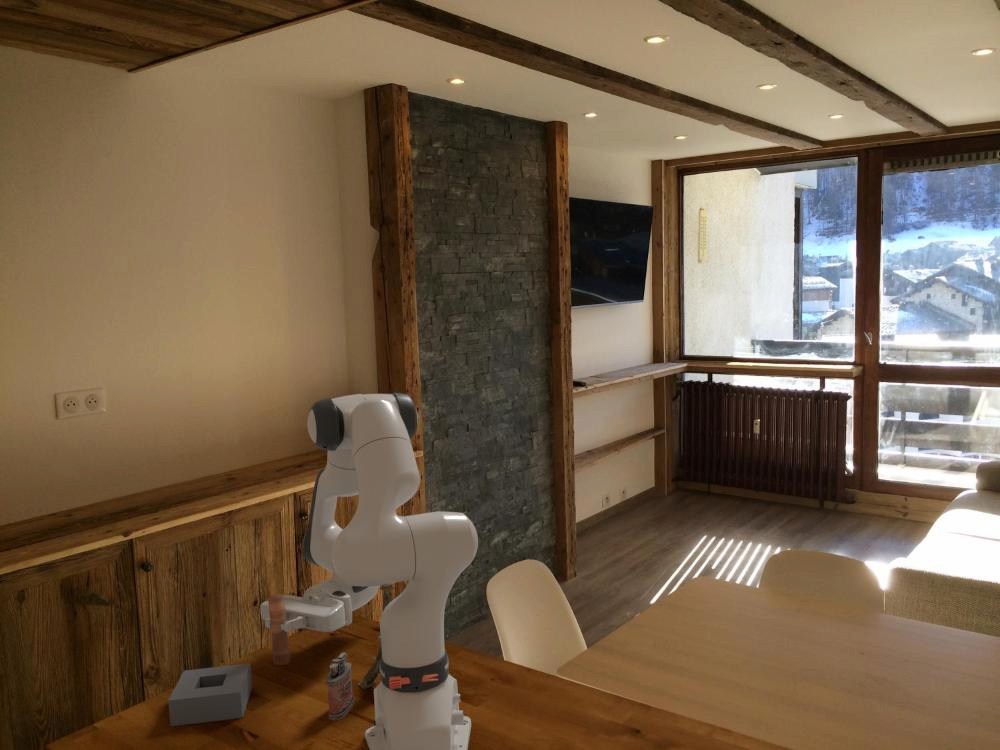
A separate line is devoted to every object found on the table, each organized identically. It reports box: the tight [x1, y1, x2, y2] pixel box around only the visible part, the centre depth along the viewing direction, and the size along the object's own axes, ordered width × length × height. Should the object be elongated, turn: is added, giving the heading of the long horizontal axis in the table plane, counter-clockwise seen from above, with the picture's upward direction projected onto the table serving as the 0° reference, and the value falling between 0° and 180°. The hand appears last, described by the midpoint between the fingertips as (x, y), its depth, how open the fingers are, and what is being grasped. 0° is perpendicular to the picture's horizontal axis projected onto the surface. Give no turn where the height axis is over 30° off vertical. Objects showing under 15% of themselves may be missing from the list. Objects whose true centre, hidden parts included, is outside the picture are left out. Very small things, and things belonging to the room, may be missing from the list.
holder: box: [167, 662, 253, 727], centre depth 164 cm, size 13×13×5 cm
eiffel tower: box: [357, 583, 396, 690], centre depth 168 cm, size 11×11×25 cm
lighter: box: [325, 652, 355, 721], centre depth 160 cm, size 8×3×10 cm, turn 168°
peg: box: [267, 593, 290, 666], centre depth 176 cm, size 3×3×14 cm
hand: (275, 626), depth 175 cm, fingers closed on peg, 3 cm apart
